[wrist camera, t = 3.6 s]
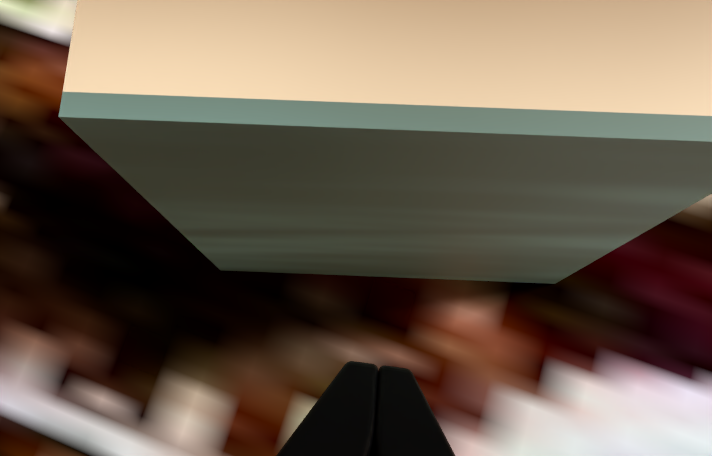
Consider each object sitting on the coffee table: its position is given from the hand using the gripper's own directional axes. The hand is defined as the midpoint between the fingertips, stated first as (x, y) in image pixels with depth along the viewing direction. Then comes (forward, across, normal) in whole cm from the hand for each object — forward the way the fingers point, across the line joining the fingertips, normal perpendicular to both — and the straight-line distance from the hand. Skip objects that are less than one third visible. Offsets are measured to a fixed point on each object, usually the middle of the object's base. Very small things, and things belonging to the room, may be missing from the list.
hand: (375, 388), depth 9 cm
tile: (+8, 0, +2) cm, 8 cm away
